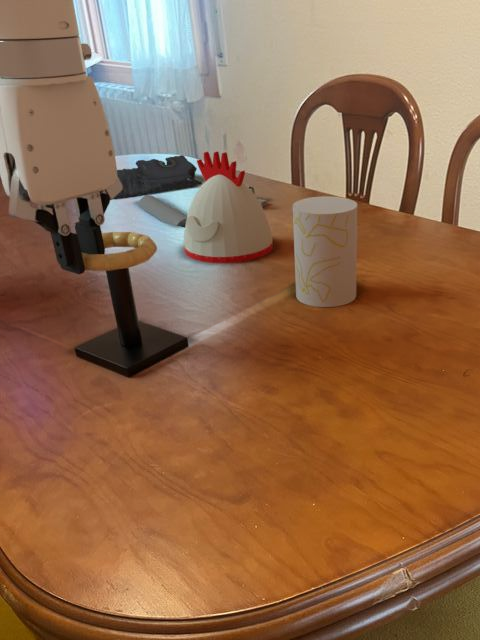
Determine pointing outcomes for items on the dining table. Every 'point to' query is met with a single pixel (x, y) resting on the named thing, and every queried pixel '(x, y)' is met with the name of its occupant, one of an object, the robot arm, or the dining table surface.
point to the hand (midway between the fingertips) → (83, 265)
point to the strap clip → (258, 199)
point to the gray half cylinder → (162, 211)
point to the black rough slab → (157, 176)
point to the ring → (123, 259)
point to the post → (129, 335)
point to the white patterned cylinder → (325, 250)
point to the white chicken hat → (225, 217)
